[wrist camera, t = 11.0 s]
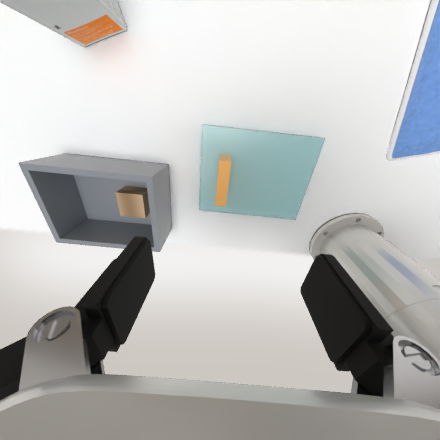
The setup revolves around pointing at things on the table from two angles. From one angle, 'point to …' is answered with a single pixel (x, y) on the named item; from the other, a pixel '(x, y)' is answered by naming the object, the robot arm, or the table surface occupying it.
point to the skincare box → (74, 17)
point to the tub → (99, 199)
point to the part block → (133, 201)
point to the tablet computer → (421, 97)
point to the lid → (255, 171)
